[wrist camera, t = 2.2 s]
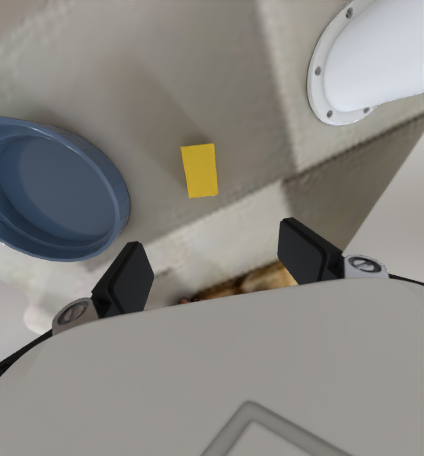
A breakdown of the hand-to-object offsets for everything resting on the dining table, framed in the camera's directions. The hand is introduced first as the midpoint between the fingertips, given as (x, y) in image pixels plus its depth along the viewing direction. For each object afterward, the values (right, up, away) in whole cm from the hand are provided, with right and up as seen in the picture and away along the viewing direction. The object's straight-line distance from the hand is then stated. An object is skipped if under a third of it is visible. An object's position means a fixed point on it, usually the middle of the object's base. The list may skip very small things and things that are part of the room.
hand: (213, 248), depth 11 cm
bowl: (-23, +7, +14) cm, 28 cm away
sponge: (-2, +11, +14) cm, 18 cm away
